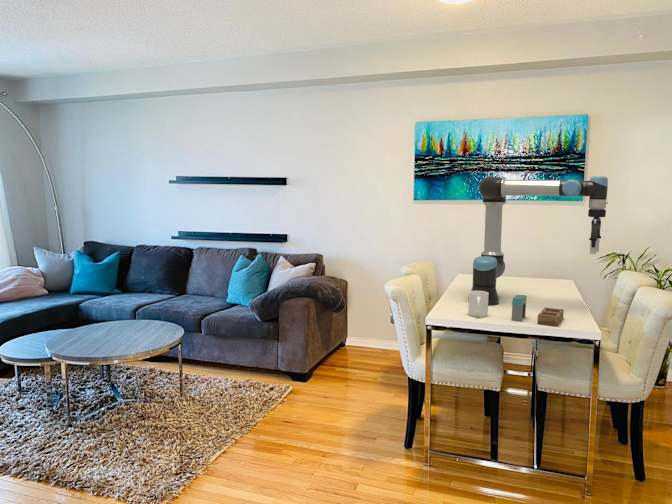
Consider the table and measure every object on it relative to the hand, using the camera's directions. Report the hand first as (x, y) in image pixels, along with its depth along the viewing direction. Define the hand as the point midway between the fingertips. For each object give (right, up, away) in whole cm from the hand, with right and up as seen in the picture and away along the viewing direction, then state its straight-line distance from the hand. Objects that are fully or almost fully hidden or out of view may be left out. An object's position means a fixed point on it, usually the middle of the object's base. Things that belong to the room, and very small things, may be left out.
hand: (594, 252), depth 251 cm
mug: (-60, -29, -14) cm, 68 cm away
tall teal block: (-43, -30, -18) cm, 55 cm away
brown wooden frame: (-30, -30, -22) cm, 48 cm away
